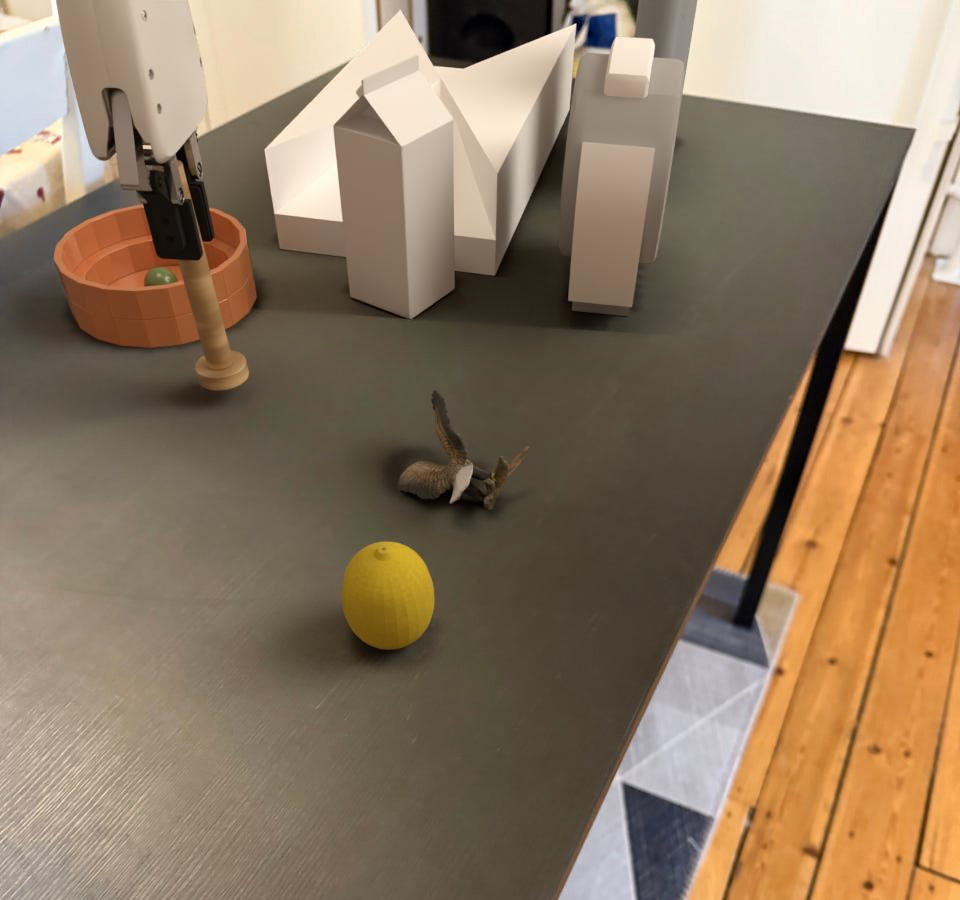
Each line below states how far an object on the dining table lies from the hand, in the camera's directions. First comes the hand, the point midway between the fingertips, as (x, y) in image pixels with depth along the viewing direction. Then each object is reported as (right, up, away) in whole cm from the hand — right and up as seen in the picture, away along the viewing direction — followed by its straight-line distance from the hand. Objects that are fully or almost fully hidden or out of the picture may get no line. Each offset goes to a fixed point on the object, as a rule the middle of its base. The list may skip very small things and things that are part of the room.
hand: (186, 246), depth 65 cm
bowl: (-8, +3, +19) cm, 21 cm away
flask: (+39, +26, +41) cm, 62 cm away
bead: (-8, +4, +18) cm, 20 cm away
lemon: (+15, -28, -7) cm, 33 cm away
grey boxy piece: (+33, +6, +23) cm, 41 cm away
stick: (0, -7, +8) cm, 11 cm away
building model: (+16, +26, +40) cm, 51 cm away
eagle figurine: (+19, -17, +3) cm, 26 cm away
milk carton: (+14, +5, +22) cm, 26 cm away
